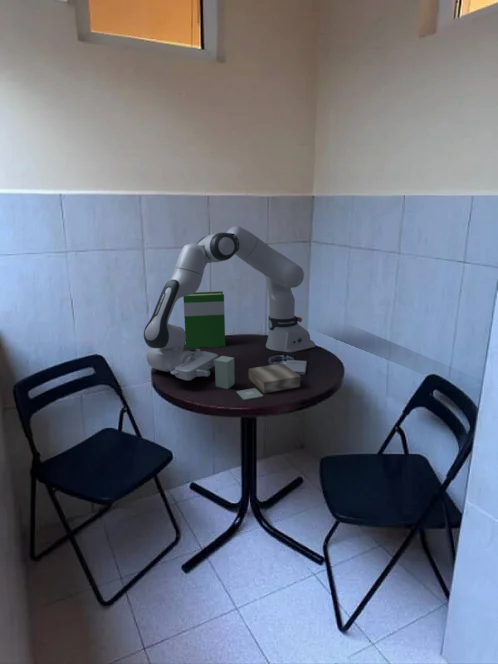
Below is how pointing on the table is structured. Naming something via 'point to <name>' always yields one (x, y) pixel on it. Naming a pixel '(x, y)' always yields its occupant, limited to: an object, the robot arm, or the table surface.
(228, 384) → the sage block
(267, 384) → the birch base block
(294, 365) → the external hard drive
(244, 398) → the tile
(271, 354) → the table surface
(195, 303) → the hardback book
